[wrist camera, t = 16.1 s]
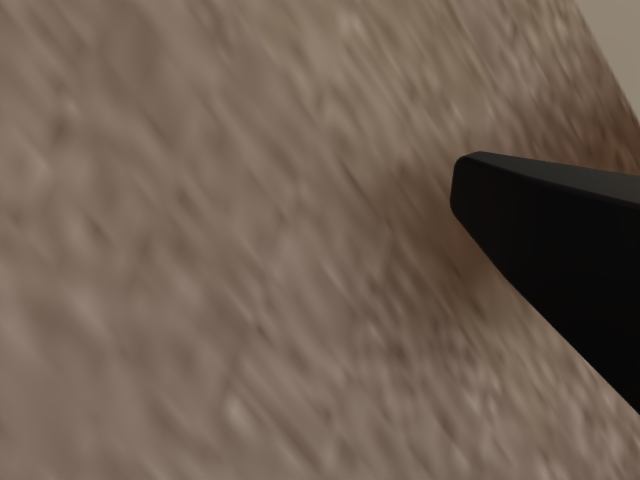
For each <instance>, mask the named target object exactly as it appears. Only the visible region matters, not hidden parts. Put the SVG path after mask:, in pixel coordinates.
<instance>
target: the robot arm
mask: <svg viewBox="0 0 640 480" xmlns="http://www.w3.org/2000/svg"><path fill="white" fill-rule="evenodd" d="M450 207H451V210H452V212H453V214H454V216H455V217H456V218H457V220H458V221H459V222H460V223H461V224H462V226H463V227H464V228H465V229H466V231H467V232H468V233H469V234H470V236H471V237H472V238H473V239H474V241H475V242H476V243H477V244H478V245H479V247H480V248H481V249H482V250H483V252H484V253H485V254H486V255H487V257H488V258H489V259H490V260H491V262H492V263H493V264H494V265H495V267H496V268H497V269H498V270H499V271H500V272H501V274H502V275H503V276H504V277H505V278H506V279H507V280H508V282H509V283H510V284H511V285H512V286H513V287H514V288H515V289H516V290H517V291H518V292H519V293H520V294H521V295H522V296H523V297H524V298H525V299H526V300H527V301H528V302H529V303H530V304H531V305H532V306H533V307H534V308H535V309H536V310H537V311H538V312H539V313H540V314H541V315H542V316H543V317H544V318H545V319H546V320H547V321H548V322H549V323H550V324H551V326H552V327H553V328H554V329H555V330H556V331H557V332H558V333H559V334H560V335H561V336H562V337H563V338H564V339H565V340H566V341H567V342H568V343H569V344H570V345H571V346H572V347H573V348H574V349H575V350H576V351H577V352H578V353H579V354H580V355H581V356H582V357H583V358H584V359H585V360H586V361H587V362H588V363H589V364H590V365H591V366H592V367H593V368H594V369H595V370H596V371H597V372H598V373H599V374H600V375H601V376H602V377H603V378H604V379H605V380H606V381H607V382H608V383H609V384H610V385H611V386H612V387H613V388H614V389H615V390H616V391H617V392H618V393H619V394H620V396H621V397H622V398H623V399H624V400H625V401H626V402H627V403H628V404H629V405H630V406H631V407H632V408H633V409H634V410H635V411H636V412H637V413H638V414H639V415H640V176H635V175H628V174H622V173H616V172H609V171H603V170H597V169H590V168H584V167H578V166H571V165H565V164H559V163H552V162H546V161H540V160H533V159H527V158H521V157H514V156H508V155H502V154H495V153H489V152H482V151H479V152H474V153H471V154H468V155H465V156H462V157H460V158H459V159H458V160H457V161H456V163H455V165H454V171H453V179H452V186H451V194H450Z"/></svg>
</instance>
